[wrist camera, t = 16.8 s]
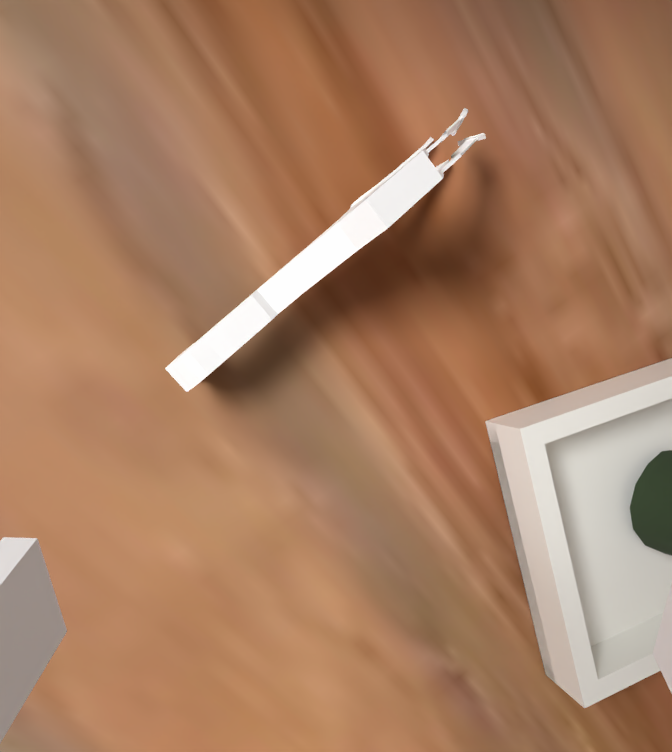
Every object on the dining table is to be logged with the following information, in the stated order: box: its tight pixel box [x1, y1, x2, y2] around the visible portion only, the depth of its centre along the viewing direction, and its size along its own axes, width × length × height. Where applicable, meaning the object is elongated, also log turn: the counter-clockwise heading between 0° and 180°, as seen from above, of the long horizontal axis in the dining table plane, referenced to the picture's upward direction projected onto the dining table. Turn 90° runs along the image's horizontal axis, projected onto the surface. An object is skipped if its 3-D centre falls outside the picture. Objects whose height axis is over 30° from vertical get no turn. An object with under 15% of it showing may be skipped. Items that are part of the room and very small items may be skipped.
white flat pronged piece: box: [165, 108, 486, 392], centre depth 29 cm, size 2×11×18 cm
